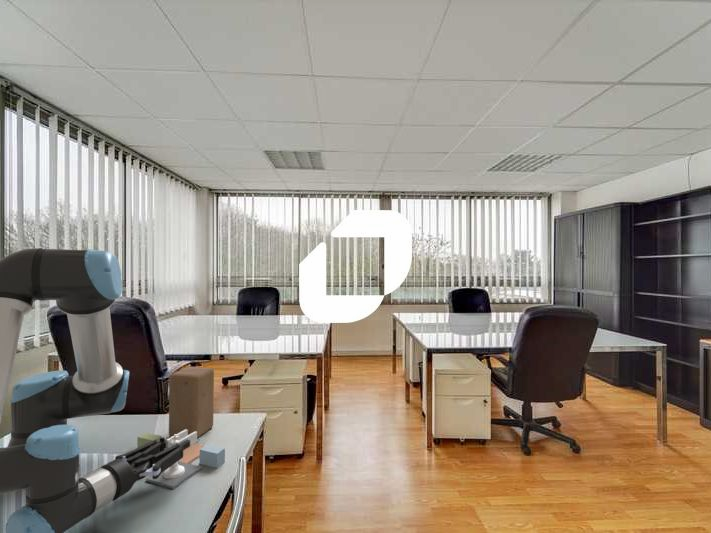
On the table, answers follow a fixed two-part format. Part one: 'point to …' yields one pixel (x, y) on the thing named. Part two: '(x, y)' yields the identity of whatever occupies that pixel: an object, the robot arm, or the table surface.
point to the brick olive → (147, 439)
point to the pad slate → (176, 481)
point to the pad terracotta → (191, 453)
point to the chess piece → (174, 465)
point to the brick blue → (212, 456)
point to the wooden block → (191, 400)
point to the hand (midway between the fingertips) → (191, 435)
